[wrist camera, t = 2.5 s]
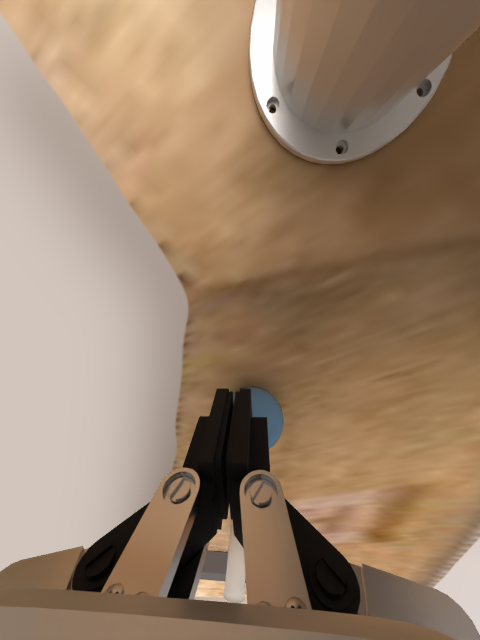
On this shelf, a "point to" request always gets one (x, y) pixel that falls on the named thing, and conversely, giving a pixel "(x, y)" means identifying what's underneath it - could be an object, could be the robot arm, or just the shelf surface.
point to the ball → (267, 412)
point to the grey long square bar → (215, 566)
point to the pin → (235, 570)
